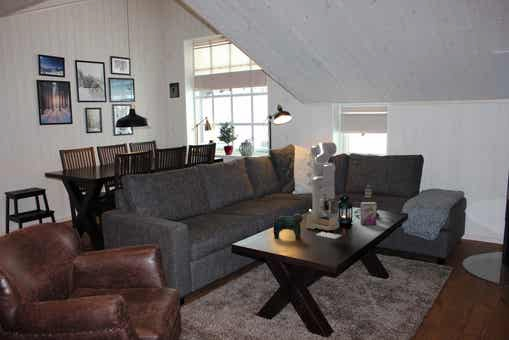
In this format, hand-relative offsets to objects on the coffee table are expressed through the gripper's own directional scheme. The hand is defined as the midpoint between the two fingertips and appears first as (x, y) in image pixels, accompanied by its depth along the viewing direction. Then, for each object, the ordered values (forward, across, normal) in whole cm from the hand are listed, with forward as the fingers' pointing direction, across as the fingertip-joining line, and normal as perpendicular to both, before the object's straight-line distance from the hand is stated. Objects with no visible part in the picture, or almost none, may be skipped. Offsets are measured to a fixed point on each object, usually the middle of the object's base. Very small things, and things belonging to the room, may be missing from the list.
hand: (328, 209), depth 289 cm
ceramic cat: (+19, +21, -19) cm, 34 cm away
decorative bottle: (+19, -62, 0) cm, 65 cm away
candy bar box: (+19, -41, +10) cm, 46 cm away
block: (+2, 0, 0) cm, 2 cm away
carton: (+19, -14, -13) cm, 27 cm away
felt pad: (+19, 0, 0) cm, 19 cm away
